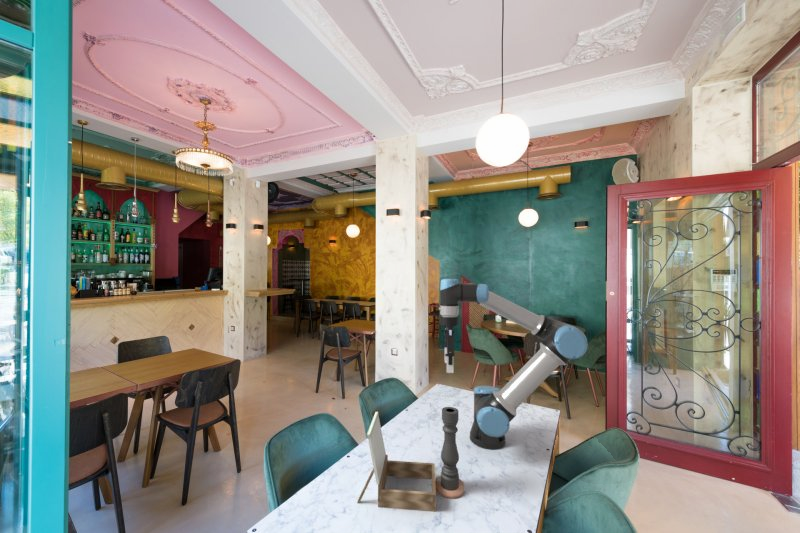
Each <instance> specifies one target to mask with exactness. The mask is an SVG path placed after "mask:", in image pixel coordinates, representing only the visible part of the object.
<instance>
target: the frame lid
mask: <svg viewBox="0 0 800 533" xmlns="http://www.w3.org/2000/svg"><path fill="white" fill-rule="evenodd" d="M381 426H382V425H381V421H380V417H379V411H375V413H374V415H373V417H372V420H371V423H370V425H369V428H368V429H367V433H366V437H367V438H366V439H367V440H368V446H369V450H370V456H371V460H372V466H373V468H374V476H375V482H376V485H378V484H379V483H380V479H381V474H382V470H383V466H384V461H385V457H386V455H387V454H386V447H385V442H384V437H383V433H382V427H381Z"/></svg>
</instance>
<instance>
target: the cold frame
mask: <svg viewBox="0 0 800 533" xmlns="http://www.w3.org/2000/svg"><path fill="white" fill-rule="evenodd" d="M388 459H389V454H386V457H385V461H384V466H383V470H382V474H381V479H380V483H379V484H377V507H378V508H384V509H385V508H387V509H399V510H400V509H401V510H409V511H411V510H413V511H424V512H425V511H426V512H437V511H436V510H437V494H436V493H437V492H436V485H435V481H436V468H435V467H436V465H435V463H434V462H433V463H432V462H421V461H420V462H419V461H402V460H390V459H389V460H388ZM373 475H375V472H374V467H373V468H372V470H371V472H370V475H369V476H368V478H367V480H366V482H365V485H364V487H363V488H362V491H361V493H360V495H359V497H358V499H357V502H356V503H358V504H360V502H361V500H362V498H363V496H364V494H365V492H366V490H367V488H368V485H369V483H370V481H371V480H372V478H373ZM388 477H395V478H409V479H425V480H431V491H417V490H406V489H393V488H392V489H390V488H386V485H387V484H386V483H387V479H388Z"/></svg>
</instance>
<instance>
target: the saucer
mask: <svg viewBox="0 0 800 533" xmlns="http://www.w3.org/2000/svg"><path fill="white" fill-rule="evenodd" d="M435 485H436V493H437V494H438V495H439V496H440V497H442V498H445V499H450V500H451V499H452V500H455V499H458V498H459V499H460V498H461V497H462V496H463V495H464V493H465V483H464V481H462V480H461V479H460V478H459V487H458V489H456V490H454V491H448V490H446V489H444V488H443V487H442V486H441V475H440V476H438V477H437V478H435Z"/></svg>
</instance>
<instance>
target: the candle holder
mask: <svg viewBox="0 0 800 533" xmlns="http://www.w3.org/2000/svg"><path fill="white" fill-rule="evenodd" d="M441 421H442V423H443V426H442V428H441V429H442V431H443V432H444V435H443V436H444V440H443V445H442V448H441V453H440V459H441V461H442V463H443V466H442V467H441V472H440V476H441V486H442V487H443V488H444V489H446V490H448V491H454V490H456V489H458V487H459V479H460V474H459V469H458V467H457V464H458V462H459V460H460V457H459V451H458V447H457V441H456V438H457V437H456V436H457V433H458V430H459V429H458V427H457V424H458V422H459V409H458V408H456V407H453V406H444V407H443V408H441Z"/></svg>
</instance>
